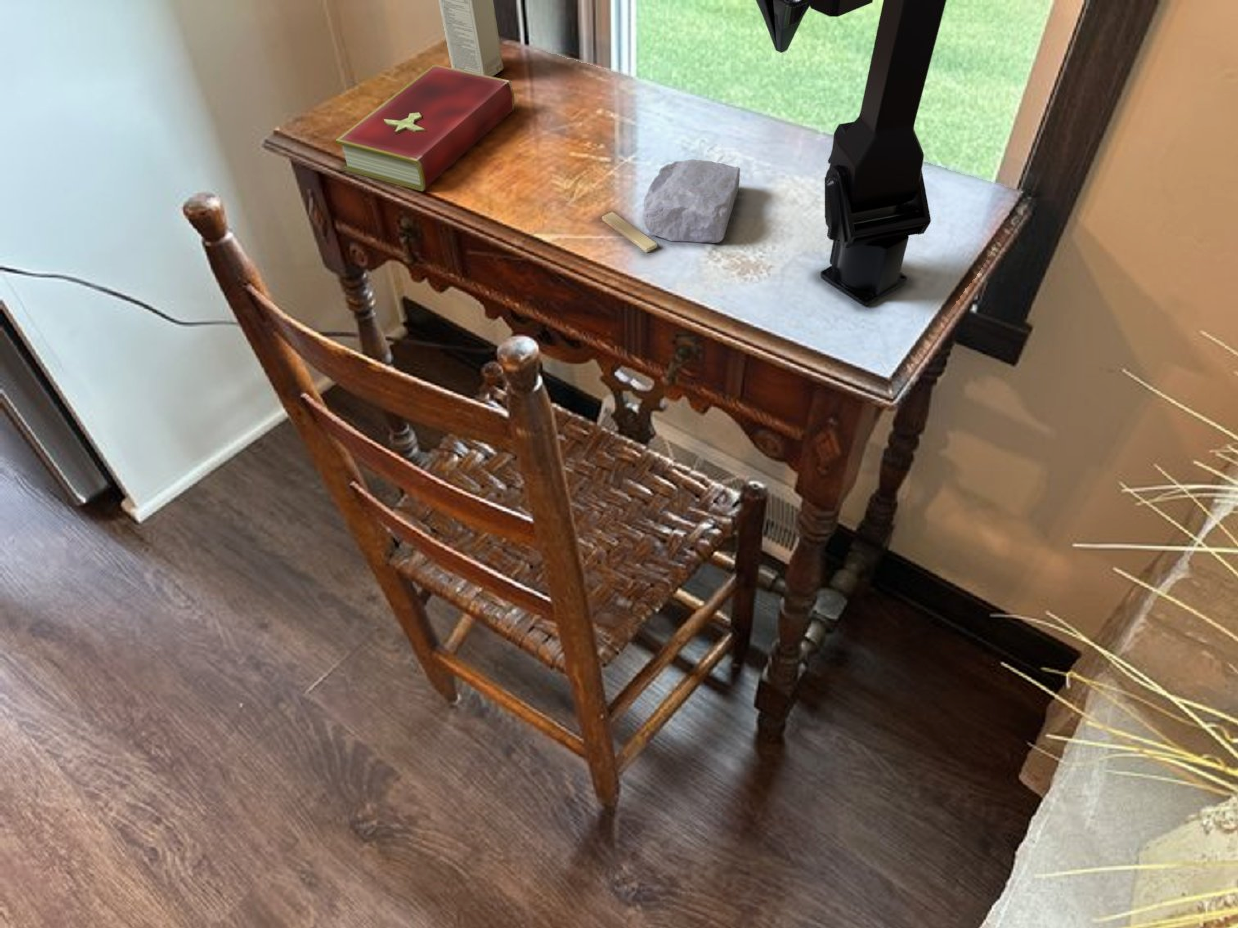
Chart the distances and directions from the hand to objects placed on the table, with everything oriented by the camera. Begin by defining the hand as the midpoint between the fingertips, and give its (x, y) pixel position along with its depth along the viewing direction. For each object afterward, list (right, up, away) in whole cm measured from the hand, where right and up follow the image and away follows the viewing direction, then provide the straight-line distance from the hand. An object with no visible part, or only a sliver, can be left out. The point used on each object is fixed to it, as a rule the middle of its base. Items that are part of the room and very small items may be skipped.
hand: (781, 50), depth 102 cm
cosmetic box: (-38, +9, +26) cm, 47 cm away
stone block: (-10, -18, +2) cm, 20 cm away
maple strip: (-17, -21, -1) cm, 27 cm away
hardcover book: (-42, -5, +14) cm, 44 cm away
